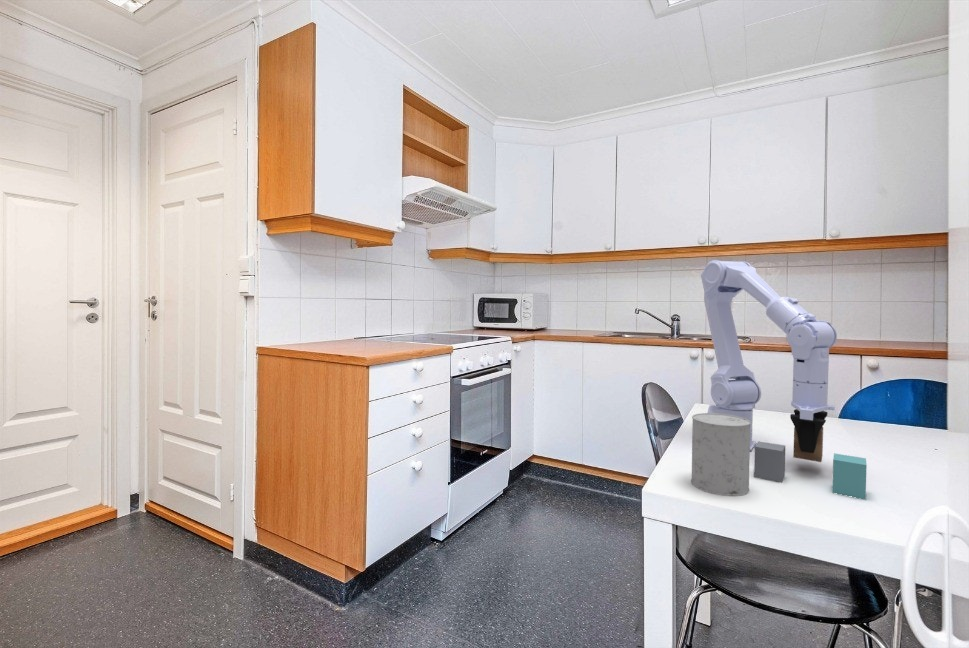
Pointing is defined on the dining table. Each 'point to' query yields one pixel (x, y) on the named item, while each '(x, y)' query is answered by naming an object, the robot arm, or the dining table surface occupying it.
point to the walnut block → (805, 455)
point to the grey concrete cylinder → (720, 453)
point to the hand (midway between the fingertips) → (808, 448)
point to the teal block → (849, 476)
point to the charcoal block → (769, 461)
